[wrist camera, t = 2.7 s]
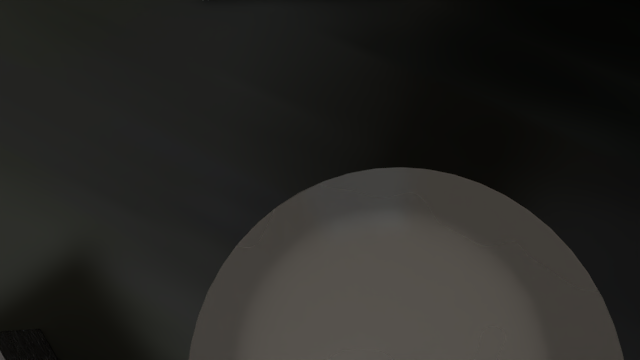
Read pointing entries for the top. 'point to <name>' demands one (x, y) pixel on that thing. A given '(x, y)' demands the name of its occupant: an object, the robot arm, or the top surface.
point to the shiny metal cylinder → (403, 279)
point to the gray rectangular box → (25, 345)
